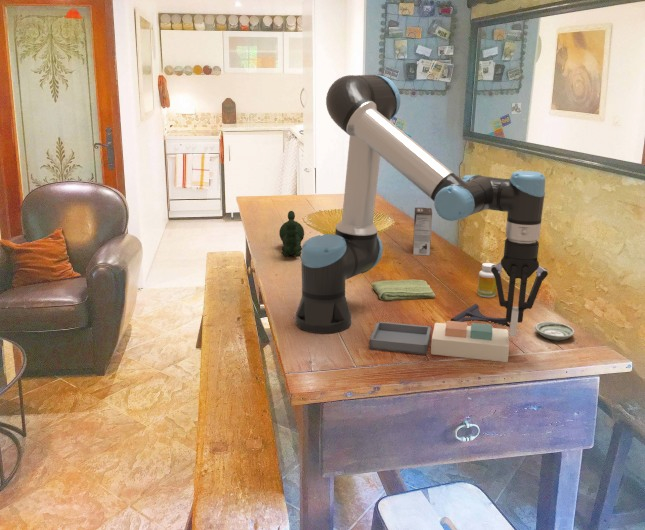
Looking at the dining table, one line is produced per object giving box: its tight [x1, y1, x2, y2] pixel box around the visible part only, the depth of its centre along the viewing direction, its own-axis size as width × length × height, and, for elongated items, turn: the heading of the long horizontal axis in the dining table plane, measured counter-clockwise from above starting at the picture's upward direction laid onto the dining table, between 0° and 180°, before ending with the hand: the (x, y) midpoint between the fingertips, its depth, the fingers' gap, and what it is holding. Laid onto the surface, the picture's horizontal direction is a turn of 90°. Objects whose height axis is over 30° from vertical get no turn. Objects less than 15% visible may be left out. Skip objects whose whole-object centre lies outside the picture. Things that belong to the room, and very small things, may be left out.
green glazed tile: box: [470, 322, 493, 340], centre depth 154 cm, size 5×5×2 cm
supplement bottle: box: [477, 262, 497, 298], centre depth 193 cm, size 5×5×10 cm
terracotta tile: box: [445, 320, 468, 338], centre depth 156 cm, size 5×5×2 cm
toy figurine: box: [278, 210, 305, 258], centre depth 235 cm, size 9×19×25 cm
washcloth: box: [371, 278, 436, 302], centre depth 195 cm, size 13×18×3 cm
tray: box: [368, 321, 432, 356], centre depth 160 cm, size 14×12×2 cm
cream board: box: [430, 322, 510, 363], centre depth 156 cm, size 18×11×4 cm, turn 76°
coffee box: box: [412, 207, 433, 256], centre depth 237 cm, size 9×6×16 cm
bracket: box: [449, 303, 510, 327], centre depth 174 cm, size 14×15×3 cm
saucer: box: [534, 321, 575, 341], centre depth 164 cm, size 10×10×2 cm
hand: (512, 333), depth 153 cm, fingers closed
